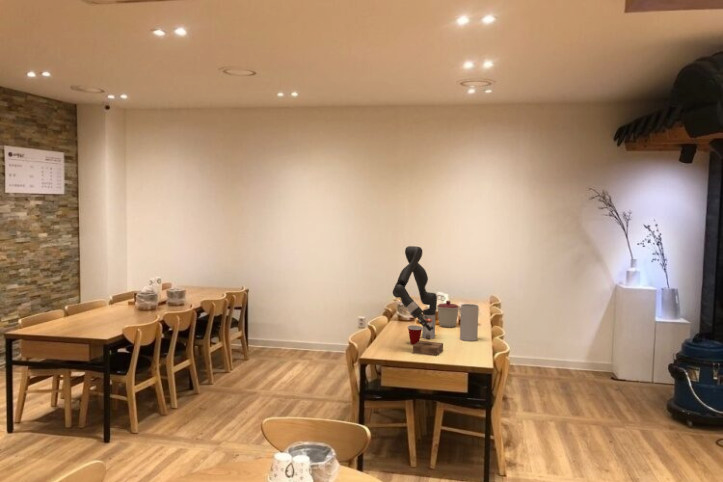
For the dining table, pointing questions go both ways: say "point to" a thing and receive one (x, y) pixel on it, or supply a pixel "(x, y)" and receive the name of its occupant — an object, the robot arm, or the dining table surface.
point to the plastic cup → (414, 333)
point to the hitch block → (428, 348)
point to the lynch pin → (428, 333)
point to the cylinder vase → (469, 322)
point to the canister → (447, 314)
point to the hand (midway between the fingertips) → (431, 329)
